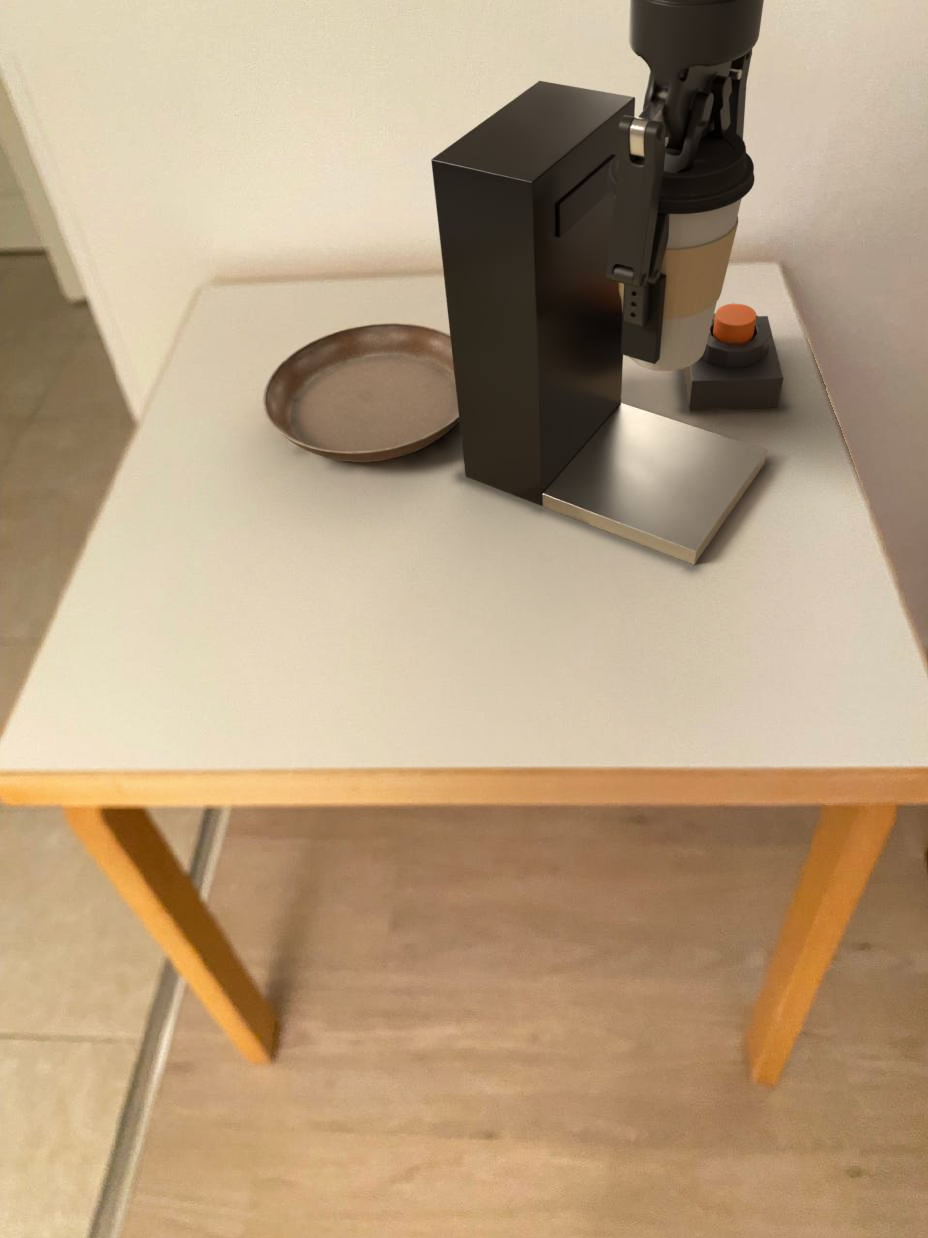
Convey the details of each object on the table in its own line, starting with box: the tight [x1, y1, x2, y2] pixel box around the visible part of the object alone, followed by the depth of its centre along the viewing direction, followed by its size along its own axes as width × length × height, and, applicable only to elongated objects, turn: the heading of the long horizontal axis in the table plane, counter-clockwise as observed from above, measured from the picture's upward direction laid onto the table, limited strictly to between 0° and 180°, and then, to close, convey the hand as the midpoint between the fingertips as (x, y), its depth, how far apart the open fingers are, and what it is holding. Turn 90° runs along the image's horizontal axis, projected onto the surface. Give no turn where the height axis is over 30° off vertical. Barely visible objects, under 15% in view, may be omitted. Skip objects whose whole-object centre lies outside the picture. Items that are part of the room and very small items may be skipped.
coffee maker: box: [431, 80, 768, 565], centre depth 75 cm, size 22×14×28 cm, turn 56°
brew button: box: [713, 303, 757, 344], centre depth 88 cm, size 4×4×2 cm
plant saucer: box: [262, 322, 460, 463], centre depth 92 cm, size 21×21×3 cm
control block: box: [682, 312, 784, 411], centre depth 91 cm, size 10×8×5 cm
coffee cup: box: [607, 129, 756, 372], centre depth 68 cm, size 9×9×15 cm
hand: (667, 324), depth 72 cm, fingers closed on coffee cup, 8 cm apart
